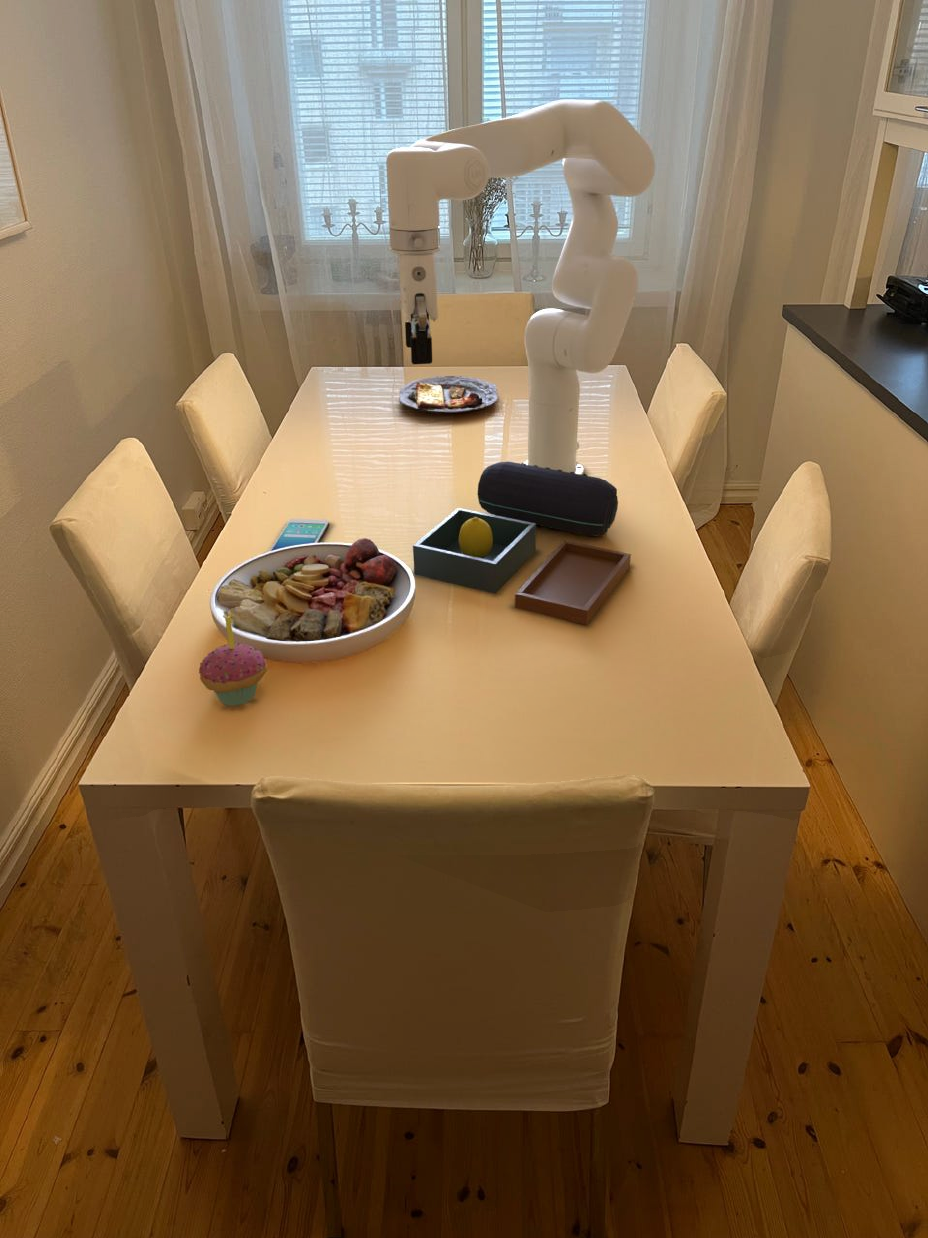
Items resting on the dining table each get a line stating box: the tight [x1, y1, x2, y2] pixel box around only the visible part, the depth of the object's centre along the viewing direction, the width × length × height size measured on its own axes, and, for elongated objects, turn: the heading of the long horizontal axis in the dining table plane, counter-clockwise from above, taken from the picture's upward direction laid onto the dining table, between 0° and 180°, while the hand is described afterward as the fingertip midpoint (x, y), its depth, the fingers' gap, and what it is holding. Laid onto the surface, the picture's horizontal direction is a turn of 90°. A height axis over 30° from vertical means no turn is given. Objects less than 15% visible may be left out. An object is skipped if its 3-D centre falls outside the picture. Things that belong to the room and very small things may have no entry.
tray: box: [514, 540, 632, 626], centre depth 145 cm, size 20×12×2 cm, turn 153°
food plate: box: [398, 375, 498, 414], centre depth 221 cm, size 25×23×4 cm
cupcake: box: [198, 610, 268, 707], centre depth 120 cm, size 9×8×12 cm
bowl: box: [209, 537, 417, 664], centre depth 138 cm, size 30×30×8 cm
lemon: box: [459, 517, 493, 559], centre depth 151 cm, size 6×6×8 cm
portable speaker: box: [476, 461, 619, 537], centre depth 162 cm, size 25×10×10 cm, turn 62°
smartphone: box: [268, 518, 330, 552], centre depth 160 cm, size 8×1×15 cm
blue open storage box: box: [412, 507, 537, 595], centre depth 152 cm, size 16×15×5 cm
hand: (418, 354), depth 148 cm, fingers open, 9 cm apart
